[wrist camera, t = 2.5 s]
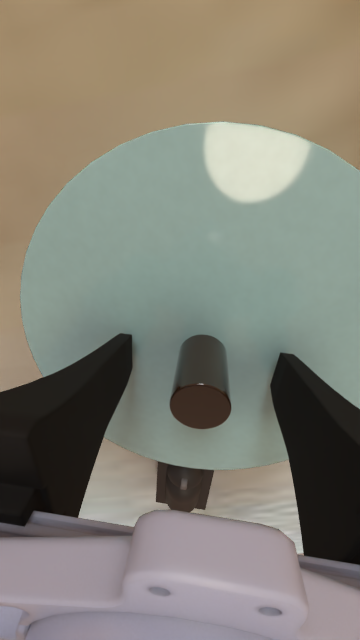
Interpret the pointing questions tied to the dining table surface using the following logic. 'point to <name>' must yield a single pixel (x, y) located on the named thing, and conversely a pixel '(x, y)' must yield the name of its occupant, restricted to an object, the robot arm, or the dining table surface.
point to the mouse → (183, 487)
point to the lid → (202, 283)
